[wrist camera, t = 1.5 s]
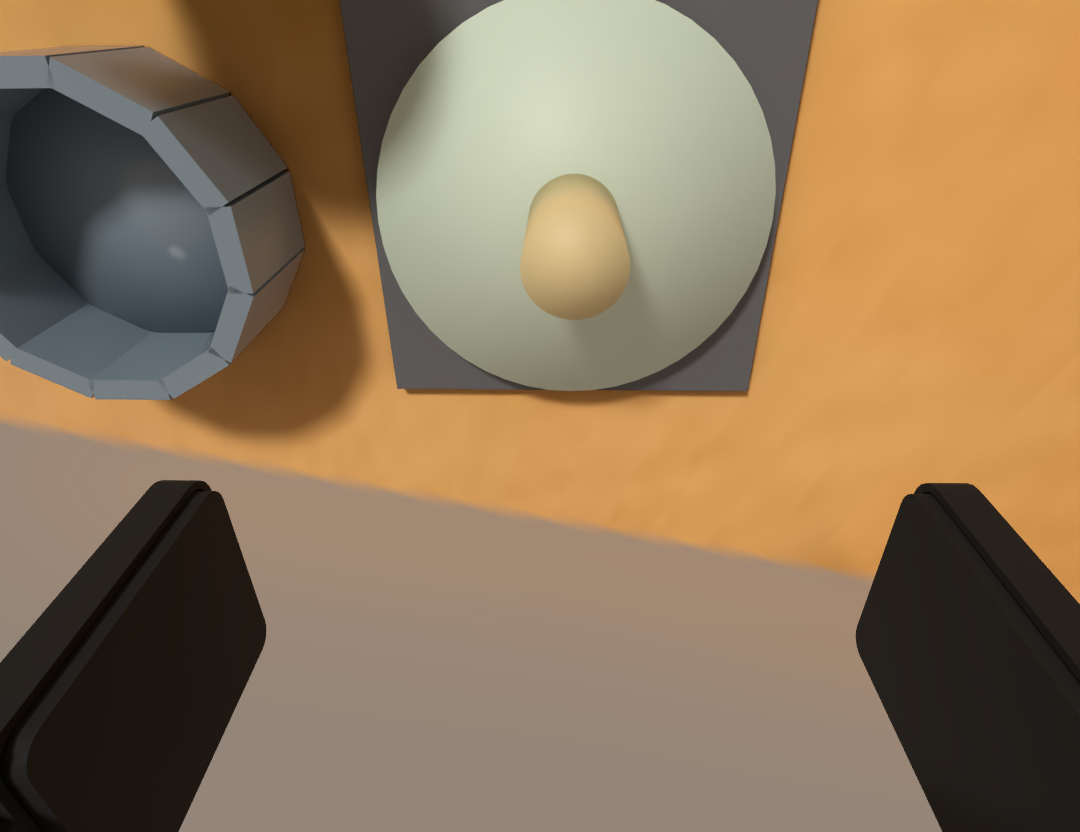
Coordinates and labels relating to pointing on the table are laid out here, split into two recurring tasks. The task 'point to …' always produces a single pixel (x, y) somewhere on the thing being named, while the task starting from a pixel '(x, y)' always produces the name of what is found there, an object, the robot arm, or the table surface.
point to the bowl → (134, 222)
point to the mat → (444, 3)
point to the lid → (575, 190)
